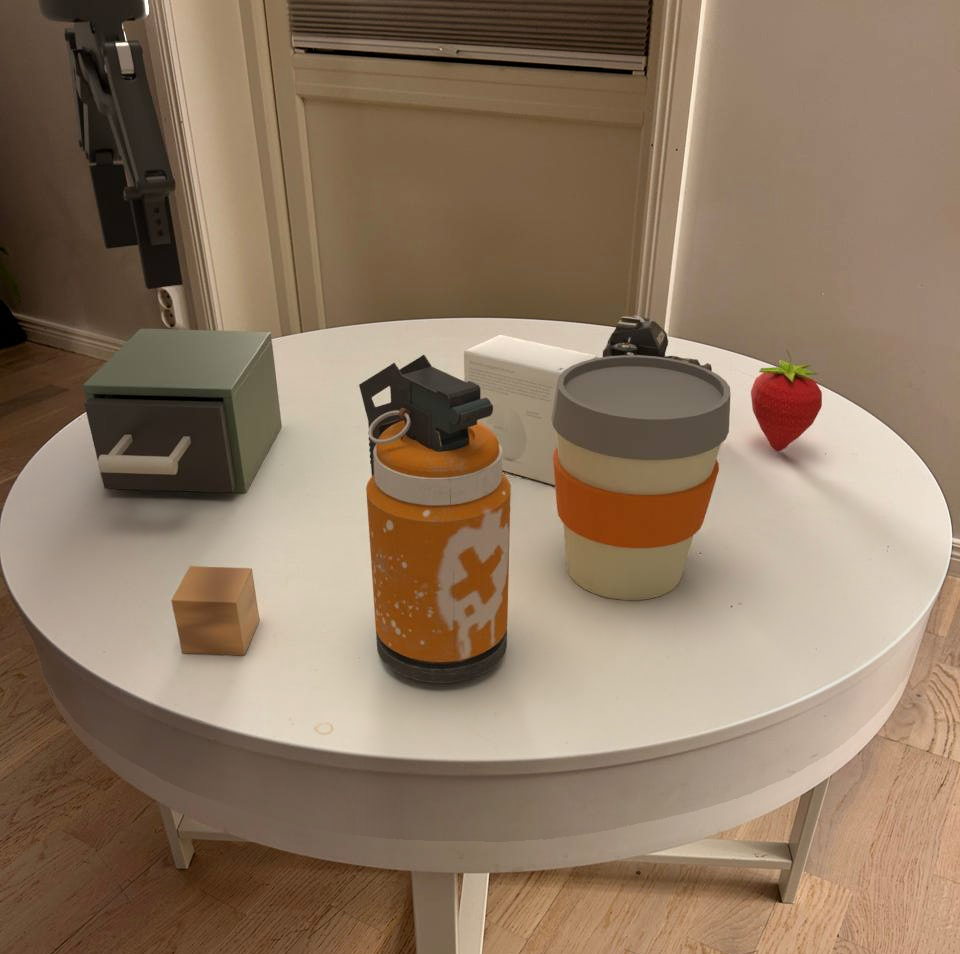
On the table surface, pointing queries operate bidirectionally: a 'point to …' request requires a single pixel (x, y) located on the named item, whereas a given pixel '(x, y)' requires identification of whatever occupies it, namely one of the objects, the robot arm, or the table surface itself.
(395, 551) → the canister
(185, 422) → the open drawer
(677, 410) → the reusable coffee cup
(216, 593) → the block
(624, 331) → the film camera
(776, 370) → the strawberry
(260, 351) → the small drawer cabinet
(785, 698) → the table surface
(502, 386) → the cosmetics box
